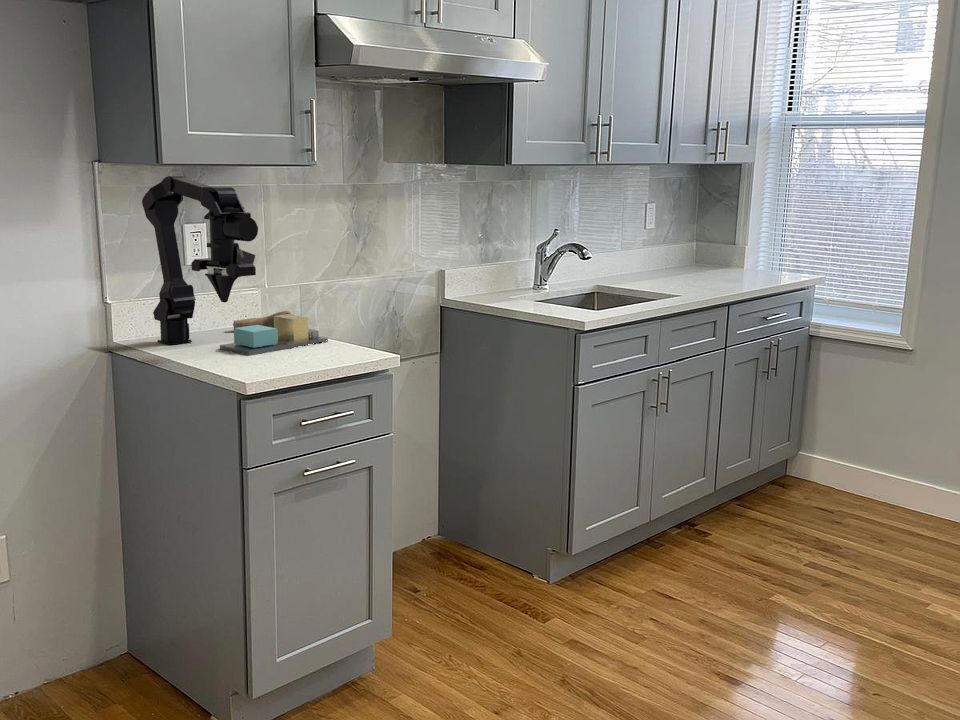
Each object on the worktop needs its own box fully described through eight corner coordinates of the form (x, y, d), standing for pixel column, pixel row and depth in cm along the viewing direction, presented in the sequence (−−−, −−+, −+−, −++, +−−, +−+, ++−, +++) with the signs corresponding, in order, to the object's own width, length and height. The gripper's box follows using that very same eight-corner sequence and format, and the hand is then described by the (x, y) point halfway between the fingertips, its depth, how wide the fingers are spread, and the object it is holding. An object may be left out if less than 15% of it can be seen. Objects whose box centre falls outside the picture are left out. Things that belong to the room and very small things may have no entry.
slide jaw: (253, 347, 238) (253, 332, 237) (234, 343, 243) (233, 328, 242) (278, 343, 244) (278, 328, 243) (259, 339, 249) (258, 324, 248)
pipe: (229, 314, 268) (237, 313, 259) (286, 310, 276) (296, 309, 267) (231, 336, 269) (239, 336, 260) (287, 332, 276) (298, 332, 268)
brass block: (274, 338, 253) (273, 316, 252) (288, 335, 257) (288, 314, 255) (293, 342, 248) (293, 319, 247) (308, 339, 252) (308, 317, 251)
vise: (249, 355, 235) (248, 343, 234) (219, 348, 242) (219, 337, 242) (327, 341, 255) (327, 330, 254) (298, 336, 262) (298, 325, 261)
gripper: (272, 239, 231) (274, 303, 234) (226, 235, 243) (228, 295, 246) (235, 242, 223) (237, 307, 226) (188, 237, 234) (191, 299, 237)
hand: (224, 302), depth 234 cm, fingers closed
